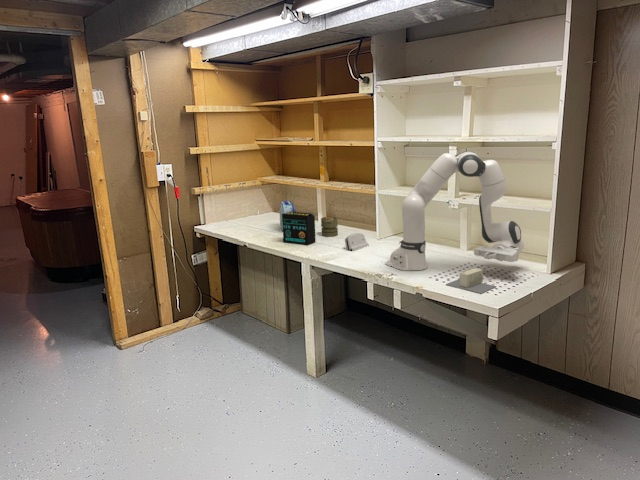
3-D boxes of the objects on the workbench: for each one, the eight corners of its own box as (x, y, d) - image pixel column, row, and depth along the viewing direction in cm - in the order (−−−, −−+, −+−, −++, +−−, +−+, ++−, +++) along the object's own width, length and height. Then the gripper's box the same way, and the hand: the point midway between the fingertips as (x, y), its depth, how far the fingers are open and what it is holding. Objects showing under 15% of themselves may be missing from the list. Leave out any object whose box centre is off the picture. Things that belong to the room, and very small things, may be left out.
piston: (336, 219, 324) (320, 219, 325) (337, 236, 326) (320, 237, 328) (337, 216, 335) (321, 216, 336) (338, 233, 337) (322, 233, 339)
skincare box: (475, 267, 225) (459, 272, 218) (483, 269, 222) (467, 274, 214) (474, 280, 226) (458, 285, 219) (482, 282, 223) (466, 287, 216)
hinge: (352, 251, 287) (348, 235, 287) (347, 252, 290) (342, 237, 290) (369, 245, 299) (365, 230, 299) (363, 247, 302) (359, 232, 302)
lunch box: (297, 232, 344) (296, 203, 339) (282, 233, 342) (281, 204, 338) (293, 225, 369) (292, 198, 364) (279, 226, 367) (277, 199, 363)
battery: (315, 242, 313) (314, 212, 308) (307, 245, 305) (306, 214, 300) (291, 239, 323) (290, 210, 318) (283, 242, 315) (281, 212, 310)
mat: (445, 285, 222) (445, 284, 222) (461, 278, 230) (461, 277, 230) (481, 294, 209) (481, 293, 209) (496, 287, 217) (496, 286, 217)
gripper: (482, 242, 241) (467, 247, 232) (522, 248, 225) (507, 254, 217) (482, 254, 242) (467, 259, 233) (521, 261, 227) (506, 267, 218)
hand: (486, 257), depth 225 cm, fingers closed
